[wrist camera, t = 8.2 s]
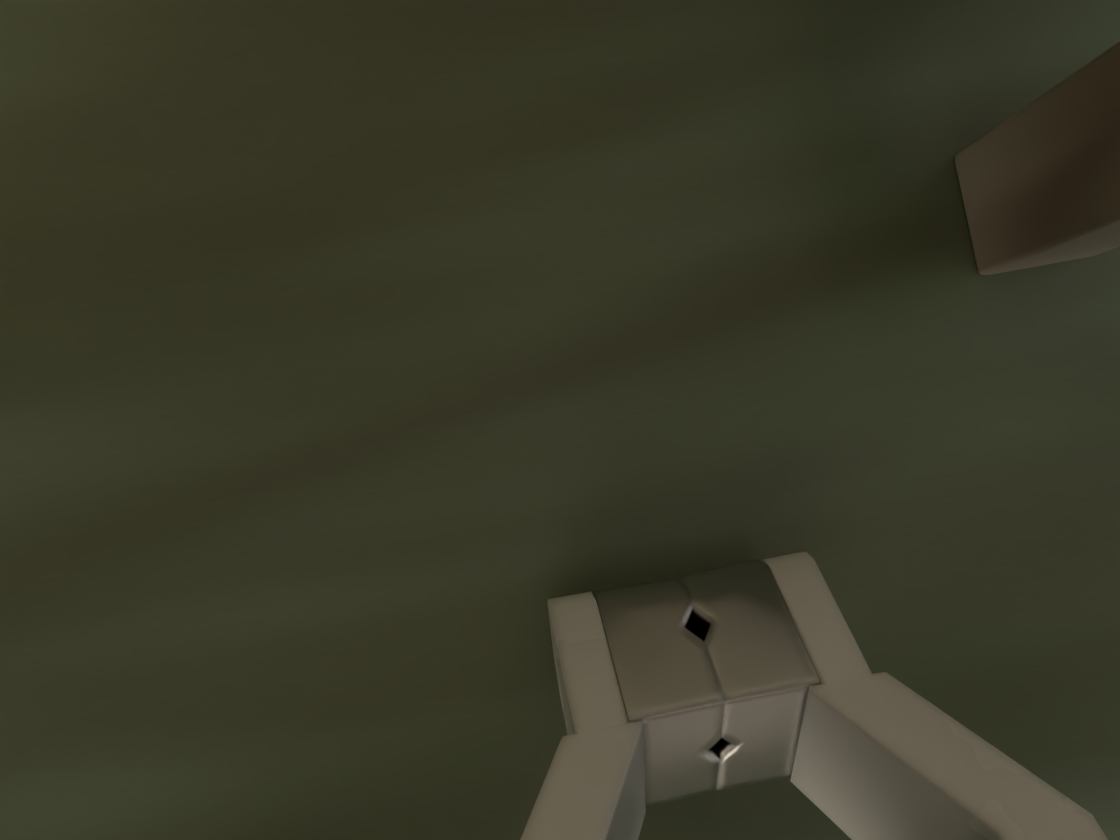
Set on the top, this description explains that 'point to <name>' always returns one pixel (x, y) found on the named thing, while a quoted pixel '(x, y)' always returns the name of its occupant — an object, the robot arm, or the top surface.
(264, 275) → the door
